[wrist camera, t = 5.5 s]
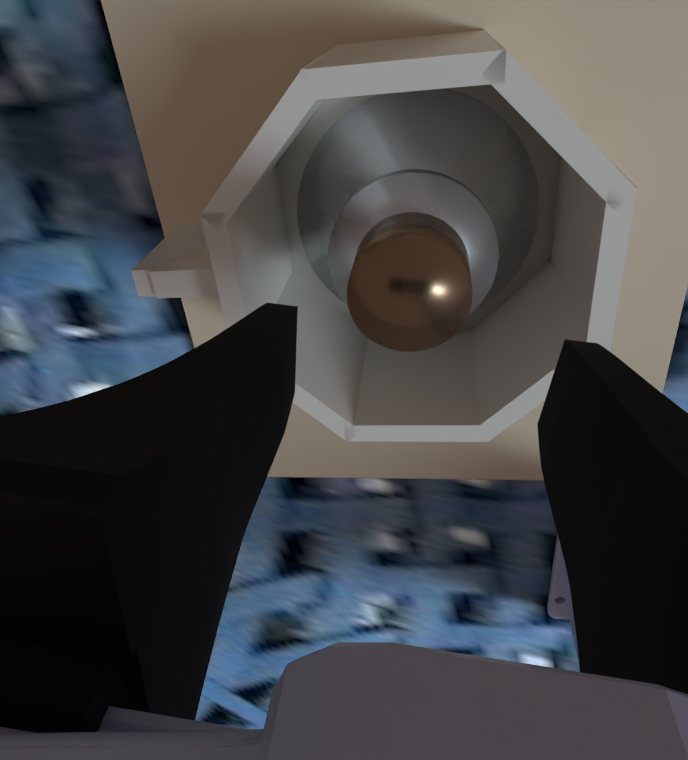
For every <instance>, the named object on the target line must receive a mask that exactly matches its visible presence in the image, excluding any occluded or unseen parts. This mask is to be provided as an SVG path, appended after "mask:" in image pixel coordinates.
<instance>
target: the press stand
mask: <svg viewBox="0 0 688 760" xmlns="http://www.w3.org/2000/svg"><path fill="white" fill-rule="evenodd" d="M101 3H102V6H103V10H104V14H105V18H106V21H107V25H108V29H109V32H110V36H111V40H112V44H113V47H114V51H115V55H116V58H117V62H118V66H119V70H120V73H121V77H122V81H123V84H124V88H125V92H126V96H127V99H128V103H129V107H130V110H131V114H132V118H133V122H134V125H135V129H136V133H137V136H138V140H139V144H140V148H141V151H142V155H143V159H144V162H145V166H146V170H147V174H148V177H149V181H150V185H151V188H152V192H153V196H154V200H155V203H156V207H157V211H158V214H159V218H160V222H161V226H162V229H163V233H164V237H165V238H164V239H163V240H162V241H161V242H160V243H159V244H158V245H157V246H156V247H155V248H154V249H153V250H152V251H151V252H150V253H149V254H148V255H147V256H146V257H144V258H143V259H142V260H141V261H140V262H139V263H138V264H137V265H136V266H135V267H134V268H133V269H132V270H131V273H132V276H133V279H134V282H135V286H136V289H137V292H138V295H139V297H148V296H156V298H181V300H182V304H183V307H184V311H185V315H186V318H187V322H188V326H189V330H190V333H191V337H192V341H193V344H194V348H196V347H198V346H199V345H201V344H203V343H205V342H206V341H208V340H210V339H212V338H213V337H215V336H216V335H218V334H219V333H221V332H222V331H224V330H226V329H227V328H229V327H230V326H232V325H233V324H235V323H236V322H238V321H239V320H241V319H242V318H244V317H245V316H247V315H248V314H250V313H251V312H253V311H254V310H256V309H257V308H259V307H260V306H262V305H264V304H266V303H274V304H283V305H291V306H298V313H297V344H296V375H295V394H294V398H293V402H292V406H291V410H290V414H289V418H288V422H287V426H286V430H285V433H284V436H283V438H282V441H281V443H280V446H279V448H278V451H277V453H276V456H275V458H274V461H273V463H272V465H271V468H270V470H269V473H268V475H267V477H322V478H400V479H478V480H544V478H543V473H542V469H541V461H540V452H539V440H538V427H537V424H538V421H539V418H540V414H541V411H542V408H543V405H544V402H545V399H546V396H547V393H548V390H549V387H550V383H551V380H552V377H553V374H554V371H555V368H556V365H557V362H558V359H559V356H560V352H561V349H562V346H563V343H564V340H565V339H566V340H574V341H583V342H591V343H598V344H599V345H601V346H603V347H604V348H606V349H607V350H608V351H610V352H611V353H612V354H614V355H615V356H616V357H618V358H619V359H620V360H621V361H623V362H624V363H625V364H626V365H628V366H629V367H630V368H631V369H633V370H634V371H635V372H636V373H637V374H639V375H640V376H641V377H642V378H644V379H645V380H646V381H647V382H648V383H650V384H651V385H652V386H653V387H655V388H656V389H657V390H658V391H660V392H661V393H663V389H664V384H665V380H666V376H667V372H668V367H669V363H670V359H671V354H672V350H673V346H674V341H675V337H676V333H677V329H678V324H679V320H680V316H681V311H682V307H683V303H684V298H685V294H686V290H687V286H688V0H101ZM444 88H447V89H451V90H454V91H458V92H461V93H464V94H466V95H468V96H471V97H473V98H475V99H477V100H479V101H481V102H482V103H484V104H485V105H487V106H488V107H490V108H492V109H493V110H494V111H495V112H496V113H497V114H498V115H500V116H501V117H502V118H503V119H504V120H505V121H506V122H507V123H508V124H509V126H510V127H511V128H512V129H513V130H514V131H515V133H516V134H517V136H518V137H519V139H520V141H521V142H522V144H523V145H524V147H525V149H526V151H527V153H528V155H529V158H530V160H531V162H532V165H533V168H534V171H535V175H536V179H537V183H538V191H539V217H538V224H537V230H536V233H535V237H534V240H533V244H532V246H531V249H530V251H529V253H528V255H527V258H526V260H525V261H524V263H523V265H522V266H521V268H520V270H519V271H518V273H517V274H516V275H515V276H514V278H513V279H512V280H511V282H510V283H509V284H508V285H507V286H506V287H505V288H504V289H503V290H502V291H501V292H500V293H499V294H498V295H497V296H495V297H494V298H493V299H492V300H490V301H489V302H488V303H487V304H485V305H483V306H482V307H480V308H478V309H477V310H475V311H473V312H472V313H471V314H469V315H468V317H467V319H466V321H465V322H464V324H463V326H462V327H461V328H460V329H459V331H458V332H457V333H456V334H455V335H454V336H452V337H451V338H450V339H449V340H447V341H445V342H444V343H442V344H440V345H438V346H436V347H434V348H430V349H427V350H422V351H415V352H403V351H396V350H392V349H388V348H386V347H383V346H381V345H379V344H377V343H375V342H373V341H372V340H371V339H369V338H368V337H367V336H366V335H364V334H363V333H362V332H361V330H360V329H359V328H358V327H357V325H356V324H355V322H354V321H353V319H352V317H351V315H350V312H349V309H348V307H347V306H346V304H345V303H344V302H342V301H341V300H340V299H338V298H337V297H336V296H335V295H334V294H333V293H332V292H331V291H330V290H329V289H328V288H327V287H326V286H325V285H324V283H323V282H322V281H321V280H320V279H319V277H318V276H317V274H316V273H315V271H314V270H313V268H312V266H311V264H310V262H309V260H308V258H307V256H306V254H305V251H304V248H303V245H302V242H301V238H300V233H299V228H298V219H297V201H298V192H299V187H300V182H301V178H302V175H303V172H304V169H305V166H306V164H307V162H308V160H309V158H310V156H311V154H312V152H313V150H314V149H315V147H316V145H317V144H318V142H319V141H320V139H321V138H322V137H323V135H324V134H325V133H326V131H327V130H328V129H329V128H330V127H331V126H332V125H333V124H334V122H335V121H336V120H338V119H339V118H340V117H341V116H342V115H343V114H344V113H346V112H347V111H348V110H349V109H351V108H353V107H354V106H356V105H357V104H359V103H360V102H362V101H364V100H366V99H368V98H370V97H372V96H374V95H376V94H387V93H398V92H410V91H421V90H432V89H444Z"/></svg>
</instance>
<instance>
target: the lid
mask: <svg viewBox="0 0 688 760" xmlns="http://www.w3.org/2000/svg"><path fill="white" fill-rule="evenodd" d="M538 217H539V191H538V183H537V179H536V175H535V171H534V168H533V165H532V162H531V160H530V158H529V155H528V153H527V151H526V149H525V147H524V145H523V144H522V142H521V141H520V139H519V137H518V136H517V134H516V133H515V131H514V130H513V129H512V128H511V127H510V126H509V124H508V123H507V122H506V121H505V120H504V119H503V118H502V117H501V116H500V115H498V114H497V113H496V112H495V111H494V110H493V109H492V108H490V107H488V106H487V105H485V104H484V103H482V102H481V101H479V100H477V99H475V98H473V97H471V96H468V95H466V94H464V93H461V92H458V91H454V90H451V89H447V88H444V89H432V90H421V91H410V92H398V93H387V94H376V95H374V96H372V97H370V98H368V99H366V100H364V101H362V102H360V103H359V104H357V105H356V106H354V107H353V108H351V109H349V110H348V111H347V112H346V113H344V114H343V115H342V116H341V117H340V118H339V119H338V120H336V121H335V122H334V124H333V125H332V126H331V127H330V128H329V129H328V130H327V131H326V133H325V134H324V135H323V137H322V138H321V139H320V141H319V142H318V144H317V145H316V147H315V149H314V150H313V152H312V154H311V156H310V158H309V160H308V162H307V164H306V166H305V169H304V172H303V175H302V178H301V182H300V187H299V192H298V201H297V219H298V228H299V233H300V238H301V242H302V245H303V248H304V251H305V254H306V256H307V258H308V260H309V262H310V264H311V266H312V268H313V270H314V271H315V273H316V274H317V276H318V277H319V279H320V280H321V281H322V282H323V283H324V285H325V286H326V287H327V288H328V289H329V290H330V291H331V292H332V293H333V294H334V295H335V296H336V297H337V298H338V299H340V300H341V301H342V302H344V303H345V304H346V306H347V307H348V309H349V312H350V315H351V317H352V319H353V321H354V322H355V324H356V325H357V327H358V328H359V329H360V330H361V332H362V333H363V334H364V335H366V336H367V337H368V338H369V339H371V340H372V341H373V342H375V343H377V344H379V345H381V346H383V347H386V348H388V349H392V350H396V351H403V352H415V351H422V350H427V349H430V348H434V347H436V346H438V345H440V344H442V343H444V342H445V341H447V340H449V339H450V338H451V337H452V336H454V335H455V334H456V333H457V332H458V331H459V329H460V328H461V327H462V326H463V324H464V322H465V321H466V319H467V317H468V315H469V314H471V313H472V312H473V311H475V310H477V309H478V308H480V307H482V306H483V305H485V304H487V303H488V302H489V301H490V300H492V299H493V298H494V297H495V296H497V295H498V294H499V293H500V292H501V291H502V290H503V289H504V288H505V287H506V286H507V285H508V284H509V283H510V282H511V280H512V279H513V278H514V276H515V275H516V274H517V273H518V271H519V270H520V268H521V266H522V265H523V263H524V261H525V260H526V258H527V255H528V253H529V251H530V249H531V246H532V244H533V240H534V237H535V233H536V230H537V224H538Z"/></svg>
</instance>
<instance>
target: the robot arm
mask: <svg viewBox="0 0 688 760" xmlns="http://www.w3.org/2000/svg"><path fill="white" fill-rule="evenodd" d="M297 313H298V306H291V305H283V304H274V303H266V304H264V305H262V306H260V307H259V308H257V309H256V310H254V311H253V312H251V313H250V314H248V315H247V316H245V317H244V318H242V319H241V320H239V321H238V322H236V323H235V324H233V325H232V326H230V327H229V328H227V329H226V330H224V331H222V332H221V333H219V334H218V335H216V336H215V337H213V338H212V339H210V340H208V341H206V342H205V343H203V344H201V345H199V346H198V347H196V348H194V349H192V350H190V351H189V352H187V353H185V354H183V355H182V356H180V357H178V358H176V359H174V360H172V361H170V362H168V363H167V364H164V365H162V366H160V367H158V368H156V369H154V370H152V371H149V372H147V373H145V374H142V375H140V376H138V377H135V378H133V379H131V380H128V381H125V382H123V383H120V384H117V385H114V386H111V387H108V388H105V389H102V390H99V391H96V392H93V393H90V394H88V395H85V396H82V397H79V398H75V399H72V400H69V401H65V402H61V403H57V404H54V405H50V406H46V407H42V408H38V409H33V410H29V411H25V412H20V413H16V414H11V415H6V416H1V417H0V760H688V413H687V412H685V411H684V410H683V409H681V408H680V407H679V406H677V405H676V404H675V403H673V402H672V401H671V400H670V399H668V398H667V397H666V396H665V395H663V394H662V393H661V392H660V391H658V390H657V389H656V388H655V387H653V386H652V385H651V384H650V383H648V382H647V381H646V380H645V379H644V378H642V377H641V376H640V375H639V374H637V373H636V372H635V371H634V370H633V369H631V368H630V367H629V366H628V365H626V364H625V363H624V362H623V361H621V360H620V359H619V358H618V357H616V356H615V355H614V354H612V353H611V352H610V351H608V350H607V349H606V348H604V347H603V346H601V345H599V344H598V343H591V342H583V341H574V340H566V339H565V340H564V343H563V346H562V349H561V352H560V356H559V359H558V362H557V365H556V368H555V371H554V374H553V377H552V380H551V383H550V387H549V390H548V393H547V396H546V399H545V402H544V405H543V408H542V411H541V414H540V418H539V421H538V424H537V427H538V440H539V452H540V461H541V469H542V473H543V478H544V482H545V486H546V490H547V494H548V498H549V502H550V506H551V510H552V514H553V518H554V522H555V526H556V530H557V538H556V545H555V553H554V560H553V567H552V574H551V582H550V589H549V596H548V603H547V609H548V614H549V615H550V616H551V617H553V618H556V619H569V620H570V625H571V630H572V634H573V639H574V644H575V648H576V653H577V658H578V662H579V667H580V672H575V671H569V670H562V669H556V668H550V667H543V666H537V665H531V664H524V663H518V662H512V661H505V660H499V659H493V658H486V657H480V656H474V655H467V654H461V653H455V652H448V651H442V650H436V649H429V648H423V647H417V646H410V645H404V644H398V643H347V642H338V643H336V644H333V645H331V646H328V647H326V648H323V649H321V650H318V651H316V652H313V653H311V654H308V655H306V656H303V657H301V658H298V659H296V660H294V661H292V662H290V663H288V664H287V666H286V668H285V670H284V671H283V673H282V675H281V677H280V679H279V681H278V682H277V684H276V686H275V688H274V690H273V692H272V696H271V700H270V704H269V709H268V713H267V717H266V722H265V726H264V729H242V728H236V727H230V726H224V725H218V724H212V723H206V722H201V721H195V717H196V713H197V709H198V705H199V701H200V696H201V692H202V688H203V684H204V680H205V676H206V672H207V668H208V664H209V661H210V657H211V653H212V649H213V645H214V641H215V637H216V633H217V629H218V625H219V622H220V618H221V614H222V611H223V607H224V603H225V600H226V596H227V592H228V588H229V585H230V581H231V578H232V574H233V571H234V567H235V564H236V560H237V557H238V553H239V549H240V546H241V542H242V539H243V536H244V533H245V530H246V528H247V525H248V522H249V519H250V517H251V514H252V512H253V509H254V507H255V504H256V502H257V500H258V497H259V495H260V492H261V490H262V487H263V485H264V482H265V480H266V478H267V475H268V473H269V470H270V468H271V465H272V463H273V461H274V458H275V456H276V453H277V451H278V448H279V446H280V443H281V441H282V438H283V436H284V433H285V430H286V426H287V422H288V418H289V414H290V410H291V406H292V402H293V398H294V394H295V375H296V344H297Z"/></svg>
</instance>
